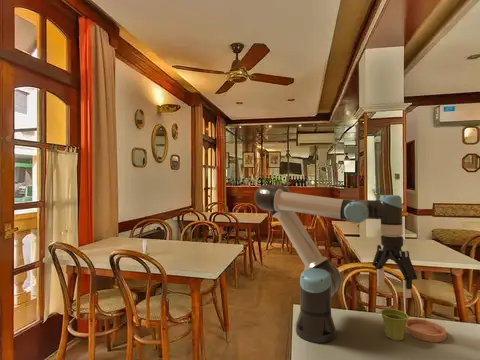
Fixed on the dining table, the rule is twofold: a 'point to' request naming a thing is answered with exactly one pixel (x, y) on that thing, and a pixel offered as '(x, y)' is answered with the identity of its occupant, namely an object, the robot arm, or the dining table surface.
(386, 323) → the plant pot
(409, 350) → the dining table surface
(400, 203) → the robot arm
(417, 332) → the terracotta plant saucer
